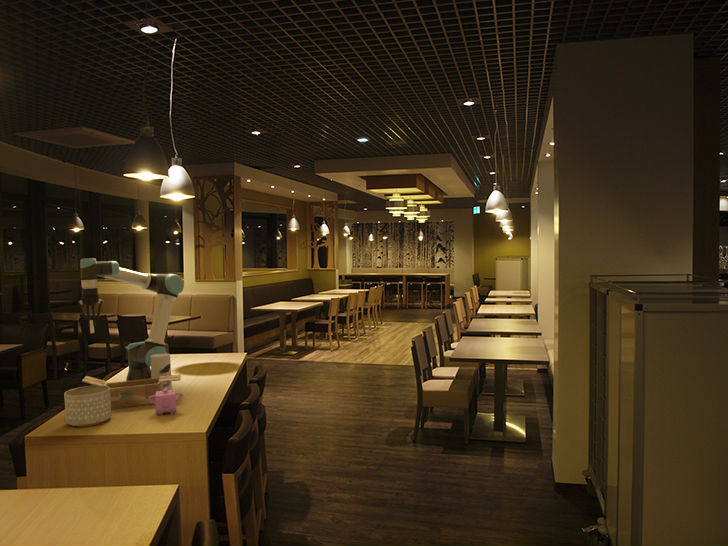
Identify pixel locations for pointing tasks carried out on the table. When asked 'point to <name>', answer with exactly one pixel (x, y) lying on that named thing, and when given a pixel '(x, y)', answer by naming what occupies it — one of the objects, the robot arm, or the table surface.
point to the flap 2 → (169, 378)
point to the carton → (133, 392)
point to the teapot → (165, 401)
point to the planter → (87, 405)
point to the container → (161, 368)
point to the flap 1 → (93, 381)
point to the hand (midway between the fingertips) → (92, 332)
